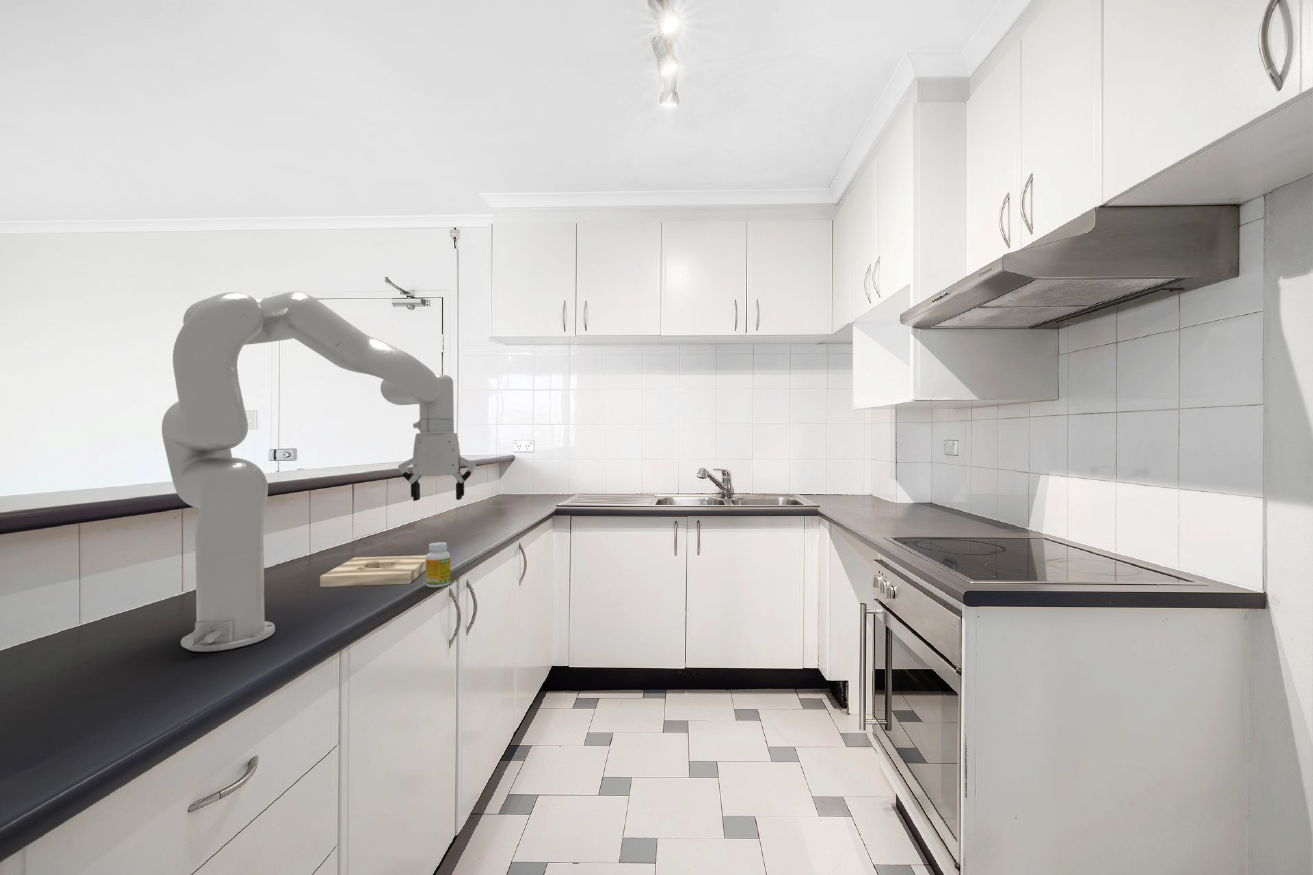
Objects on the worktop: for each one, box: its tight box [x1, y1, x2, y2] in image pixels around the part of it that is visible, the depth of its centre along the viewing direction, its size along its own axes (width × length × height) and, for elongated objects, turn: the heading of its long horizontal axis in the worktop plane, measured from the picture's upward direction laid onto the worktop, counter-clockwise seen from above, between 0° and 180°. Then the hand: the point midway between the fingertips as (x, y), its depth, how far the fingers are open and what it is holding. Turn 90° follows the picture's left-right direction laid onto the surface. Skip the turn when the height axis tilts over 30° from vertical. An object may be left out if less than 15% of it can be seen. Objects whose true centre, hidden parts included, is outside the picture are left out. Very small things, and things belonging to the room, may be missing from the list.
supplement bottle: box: [425, 541, 451, 588], centre depth 135 cm, size 5×5×10 cm
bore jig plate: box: [319, 554, 427, 588], centre depth 145 cm, size 20×20×2 cm
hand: (438, 499), depth 135 cm, fingers open, 9 cm apart
